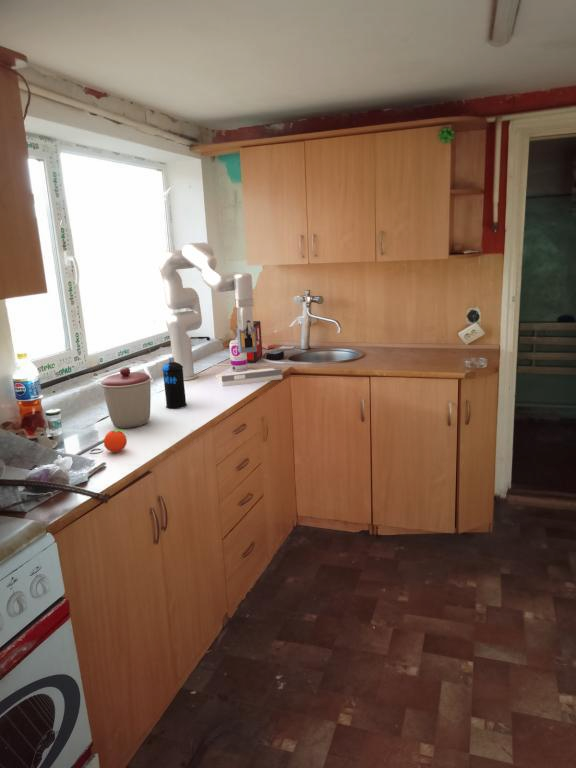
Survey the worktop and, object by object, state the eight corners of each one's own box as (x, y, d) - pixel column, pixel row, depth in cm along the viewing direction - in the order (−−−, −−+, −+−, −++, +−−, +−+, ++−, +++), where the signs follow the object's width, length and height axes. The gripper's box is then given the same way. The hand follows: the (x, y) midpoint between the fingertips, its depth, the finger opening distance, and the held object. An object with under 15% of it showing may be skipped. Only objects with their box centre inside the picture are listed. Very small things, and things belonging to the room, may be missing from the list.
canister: (95, 427, 205) (87, 370, 200) (133, 413, 220) (127, 360, 214) (129, 434, 195) (121, 375, 190) (167, 420, 210) (161, 364, 205)
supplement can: (245, 371, 281) (243, 341, 277) (229, 371, 283) (226, 342, 279) (249, 368, 289) (247, 338, 285) (234, 368, 290) (231, 339, 287)
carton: (238, 351, 243) (236, 328, 241) (254, 349, 245) (252, 326, 243) (240, 353, 239) (239, 329, 237) (257, 351, 241) (255, 328, 239)
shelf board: (222, 386, 255) (221, 376, 254) (216, 378, 270) (215, 369, 269) (282, 379, 262) (282, 369, 261) (273, 371, 277) (272, 362, 276)
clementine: (129, 445, 185) (127, 424, 183) (132, 452, 178) (130, 430, 177) (104, 450, 182) (101, 429, 180) (106, 457, 175) (103, 435, 174)
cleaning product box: (247, 357, 317) (244, 321, 312) (262, 356, 315) (260, 320, 310) (239, 363, 301) (236, 325, 296) (255, 363, 299) (253, 325, 295)
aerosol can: (177, 402, 233) (172, 354, 228) (191, 405, 228) (186, 356, 223) (161, 407, 227) (156, 358, 222) (175, 410, 222) (169, 360, 217)
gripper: (231, 302, 244) (234, 344, 249) (240, 306, 228) (243, 350, 233) (248, 300, 246) (251, 342, 251) (258, 304, 230) (261, 348, 235)
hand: (247, 345), depth 242 cm, fingers closed on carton, 4 cm apart
